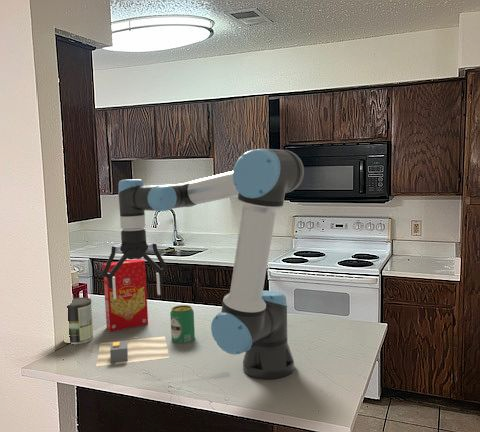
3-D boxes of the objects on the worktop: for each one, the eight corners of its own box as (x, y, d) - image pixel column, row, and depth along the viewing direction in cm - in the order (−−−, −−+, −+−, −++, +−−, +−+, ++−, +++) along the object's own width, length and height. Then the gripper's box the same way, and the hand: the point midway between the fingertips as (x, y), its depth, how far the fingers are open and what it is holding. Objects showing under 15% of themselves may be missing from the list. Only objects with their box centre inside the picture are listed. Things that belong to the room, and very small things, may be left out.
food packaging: (110, 331, 180) (106, 265, 178) (106, 327, 185) (102, 263, 182) (148, 324, 187) (144, 260, 185) (143, 320, 192) (140, 258, 189)
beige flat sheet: (169, 361, 150) (169, 357, 150) (96, 370, 145) (96, 366, 145) (165, 339, 169) (164, 336, 169) (100, 346, 165) (100, 343, 165)
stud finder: (127, 360, 149) (126, 346, 148) (110, 362, 147) (110, 348, 147) (127, 352, 155) (127, 338, 155) (111, 354, 154) (111, 340, 154)
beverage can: (166, 342, 166) (165, 309, 165) (183, 336, 172) (182, 303, 171) (182, 347, 161) (181, 312, 160) (199, 340, 167) (198, 307, 166)
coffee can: (64, 346, 166) (61, 306, 164) (62, 337, 175) (60, 299, 174) (95, 341, 170) (92, 302, 169) (92, 332, 179) (89, 295, 178)
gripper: (172, 225, 156) (175, 289, 158) (92, 230, 150) (96, 296, 152) (174, 227, 149) (178, 295, 151) (90, 233, 143) (95, 303, 145)
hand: (137, 296), depth 152 cm, fingers open, 13 cm apart
